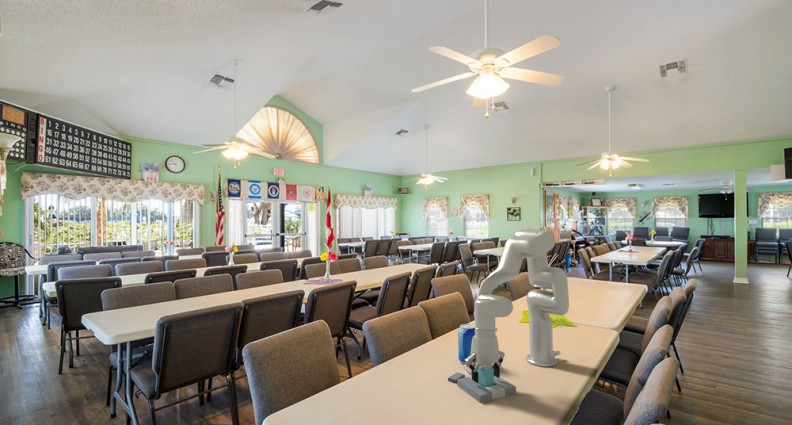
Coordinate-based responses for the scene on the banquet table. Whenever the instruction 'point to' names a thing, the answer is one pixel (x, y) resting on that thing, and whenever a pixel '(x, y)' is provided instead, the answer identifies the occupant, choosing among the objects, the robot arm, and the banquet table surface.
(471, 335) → the beer can
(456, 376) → the phone
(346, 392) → the banquet table surface
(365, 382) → the banquet table surface
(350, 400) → the banquet table surface
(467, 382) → the socket plate
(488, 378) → the block
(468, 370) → the cable
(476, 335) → the robot arm
